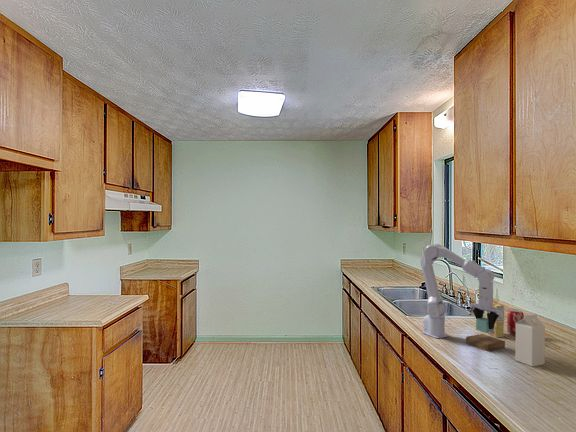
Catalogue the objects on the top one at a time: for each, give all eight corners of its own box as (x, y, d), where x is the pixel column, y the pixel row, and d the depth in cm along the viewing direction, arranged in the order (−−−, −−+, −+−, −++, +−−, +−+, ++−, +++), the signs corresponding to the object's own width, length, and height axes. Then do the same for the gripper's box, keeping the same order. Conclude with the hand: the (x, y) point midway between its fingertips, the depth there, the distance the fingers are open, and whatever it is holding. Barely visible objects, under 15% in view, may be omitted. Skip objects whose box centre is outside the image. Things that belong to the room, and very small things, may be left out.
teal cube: (476, 329, 169) (476, 318, 169) (483, 328, 171) (483, 317, 171) (486, 332, 165) (486, 321, 165) (493, 331, 167) (493, 320, 167)
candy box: (484, 331, 189) (485, 301, 189) (492, 331, 189) (492, 301, 189) (496, 337, 180) (496, 305, 180) (504, 337, 180) (504, 305, 180)
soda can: (527, 335, 183) (527, 311, 183) (516, 337, 181) (517, 312, 181) (513, 331, 190) (514, 307, 190) (503, 332, 187) (504, 309, 187)
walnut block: (466, 344, 171) (466, 336, 171) (482, 341, 175) (482, 333, 175) (487, 352, 161) (487, 344, 161) (504, 349, 165) (504, 341, 165)
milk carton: (515, 360, 151) (515, 313, 151) (527, 358, 154) (528, 311, 154) (532, 367, 144) (532, 317, 144) (544, 364, 147) (545, 316, 147)
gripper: (465, 294, 173) (465, 323, 173) (494, 300, 160) (494, 332, 160) (476, 293, 176) (476, 322, 176) (505, 299, 163) (505, 330, 163)
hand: (485, 327), depth 168 cm, fingers closed on teal cube, 5 cm apart
